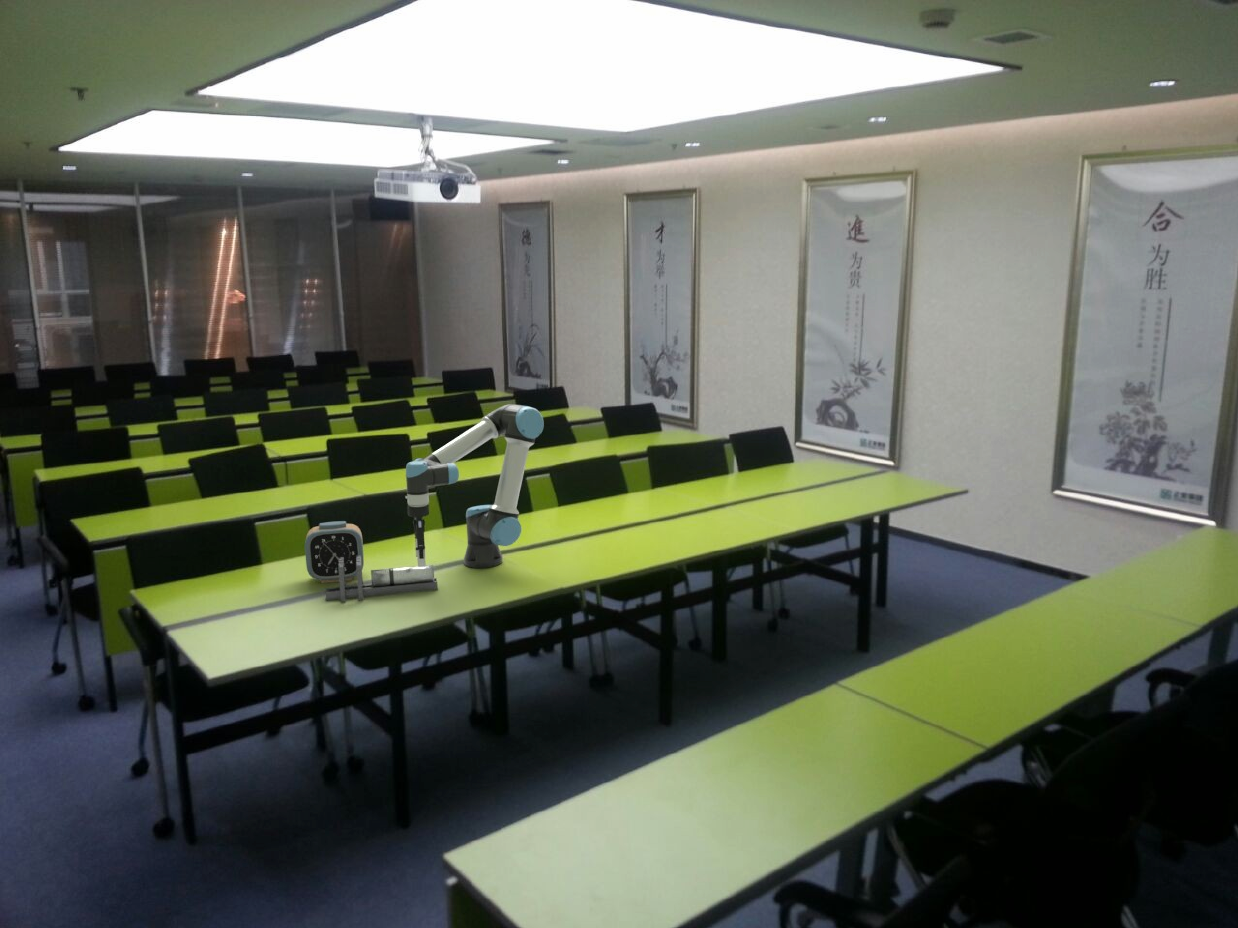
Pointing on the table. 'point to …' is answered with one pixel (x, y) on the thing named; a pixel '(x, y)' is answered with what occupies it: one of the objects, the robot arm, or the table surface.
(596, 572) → the table surface
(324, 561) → the alarm clock
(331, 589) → the gray metal rack
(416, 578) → the tube
